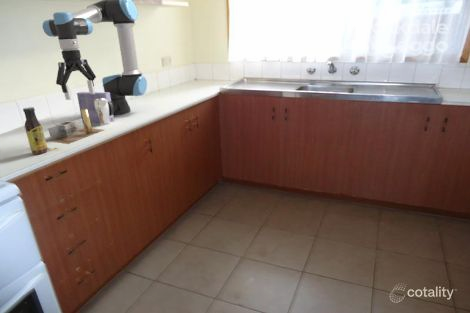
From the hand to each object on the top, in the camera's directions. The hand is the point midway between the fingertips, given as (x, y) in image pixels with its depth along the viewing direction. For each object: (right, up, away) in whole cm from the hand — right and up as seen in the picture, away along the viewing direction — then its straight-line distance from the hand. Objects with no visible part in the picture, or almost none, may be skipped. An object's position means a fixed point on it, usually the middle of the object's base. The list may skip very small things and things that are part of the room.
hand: (80, 96), depth 153 cm
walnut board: (-5, -19, +6) cm, 21 cm away
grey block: (-8, -17, +9) cm, 21 cm away
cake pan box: (-4, -10, +31) cm, 32 cm away
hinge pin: (+1, -17, +7) cm, 18 cm away
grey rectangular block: (-11, -19, +4) cm, 22 cm away
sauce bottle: (-13, -27, -11) cm, 31 cm away
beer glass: (+3, -12, +23) cm, 27 cm away
